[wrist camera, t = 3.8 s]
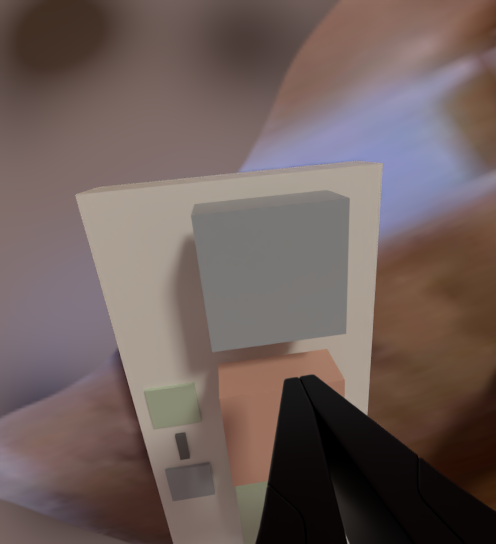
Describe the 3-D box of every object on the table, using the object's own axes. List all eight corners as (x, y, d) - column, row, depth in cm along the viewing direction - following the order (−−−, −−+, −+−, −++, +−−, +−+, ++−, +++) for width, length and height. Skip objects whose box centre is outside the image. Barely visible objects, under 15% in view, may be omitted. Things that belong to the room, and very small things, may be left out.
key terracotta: (327, 348, 17) (344, 380, 14) (326, 430, 19) (342, 468, 16) (218, 364, 16) (219, 398, 14) (230, 445, 18) (232, 486, 16)
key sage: (320, 441, 21) (333, 476, 18) (320, 499, 23) (332, 537, 21) (233, 455, 20) (236, 492, 18) (241, 513, 22) (245, 553, 20)
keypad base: (355, 160, 18) (384, 163, 15) (344, 521, 29) (359, 563, 26) (97, 187, 17) (73, 195, 14) (189, 548, 28) (186, 595, 25)
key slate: (327, 190, 14) (350, 198, 11) (327, 307, 16) (346, 333, 13) (194, 204, 13) (190, 215, 11) (211, 322, 15) (211, 352, 13)
